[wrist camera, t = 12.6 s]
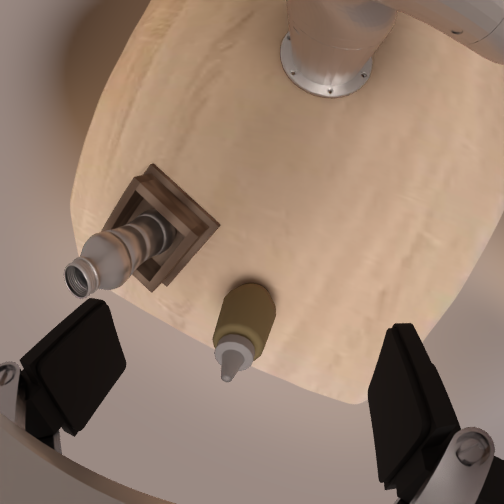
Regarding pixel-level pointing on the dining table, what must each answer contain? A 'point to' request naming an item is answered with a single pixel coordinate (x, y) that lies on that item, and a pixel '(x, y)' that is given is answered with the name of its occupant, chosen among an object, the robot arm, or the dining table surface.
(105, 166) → the dining table surface
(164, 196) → the bottle caddy
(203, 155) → the dining table surface
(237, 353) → the squeeze bottle
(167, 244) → the plastic bottle
